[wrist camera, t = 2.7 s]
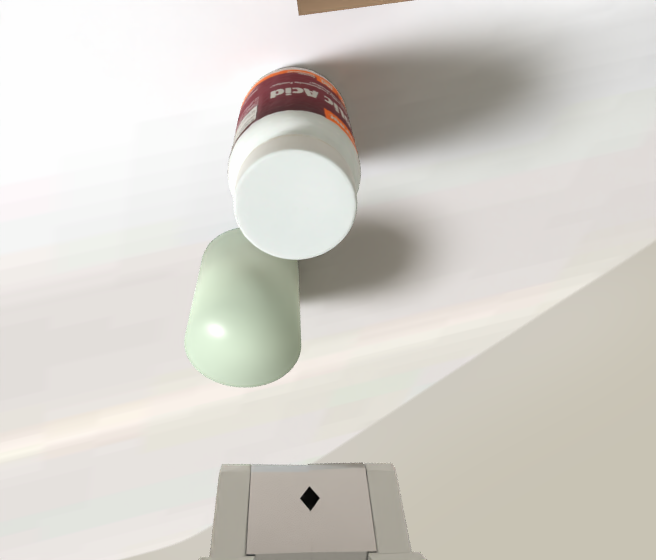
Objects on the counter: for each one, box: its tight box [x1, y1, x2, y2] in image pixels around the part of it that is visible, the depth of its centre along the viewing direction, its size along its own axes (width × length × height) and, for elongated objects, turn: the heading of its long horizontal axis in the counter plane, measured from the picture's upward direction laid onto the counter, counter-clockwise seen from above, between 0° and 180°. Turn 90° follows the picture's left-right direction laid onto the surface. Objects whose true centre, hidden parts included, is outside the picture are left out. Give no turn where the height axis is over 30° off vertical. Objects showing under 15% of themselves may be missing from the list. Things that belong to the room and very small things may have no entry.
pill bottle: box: [228, 67, 361, 260], centre depth 22 cm, size 5×5×8 cm
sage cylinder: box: [184, 228, 301, 387], centre depth 27 cm, size 5×5×6 cm
